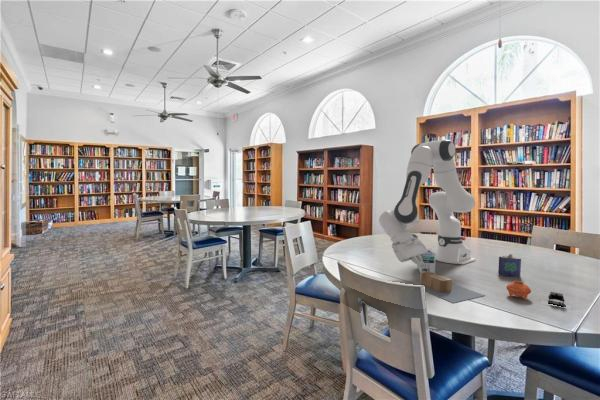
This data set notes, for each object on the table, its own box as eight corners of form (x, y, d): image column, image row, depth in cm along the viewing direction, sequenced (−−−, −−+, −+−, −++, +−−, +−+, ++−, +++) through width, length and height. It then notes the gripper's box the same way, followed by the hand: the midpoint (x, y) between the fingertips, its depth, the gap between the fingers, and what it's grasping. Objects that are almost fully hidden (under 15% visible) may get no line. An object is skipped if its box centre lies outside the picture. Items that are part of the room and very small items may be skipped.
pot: (536, 298, 118) (535, 282, 117) (521, 305, 116) (520, 289, 115) (516, 290, 125) (515, 275, 124) (502, 297, 123) (500, 281, 122)
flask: (519, 275, 146) (520, 253, 146) (521, 277, 144) (523, 255, 143) (497, 273, 149) (498, 252, 148) (499, 275, 146) (500, 253, 145)
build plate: (534, 304, 114) (535, 292, 114) (534, 298, 120) (535, 287, 120) (579, 313, 107) (580, 301, 107) (576, 306, 113) (577, 294, 112)
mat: (446, 281, 138) (446, 281, 138) (485, 295, 121) (485, 295, 121) (416, 287, 130) (416, 286, 130) (453, 303, 114) (453, 302, 114)
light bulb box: (435, 275, 147) (436, 253, 146) (420, 274, 148) (421, 252, 147) (430, 268, 157) (431, 248, 156) (416, 268, 158) (417, 247, 158)
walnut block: (428, 271, 136) (451, 279, 125) (428, 281, 137) (451, 291, 126) (420, 272, 134) (443, 280, 123) (419, 283, 135) (442, 292, 124)
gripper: (394, 239, 135) (414, 266, 128) (418, 234, 148) (437, 258, 141) (385, 247, 139) (404, 274, 132) (410, 241, 152) (428, 265, 145)
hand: (421, 265), depth 137 cm, fingers closed
